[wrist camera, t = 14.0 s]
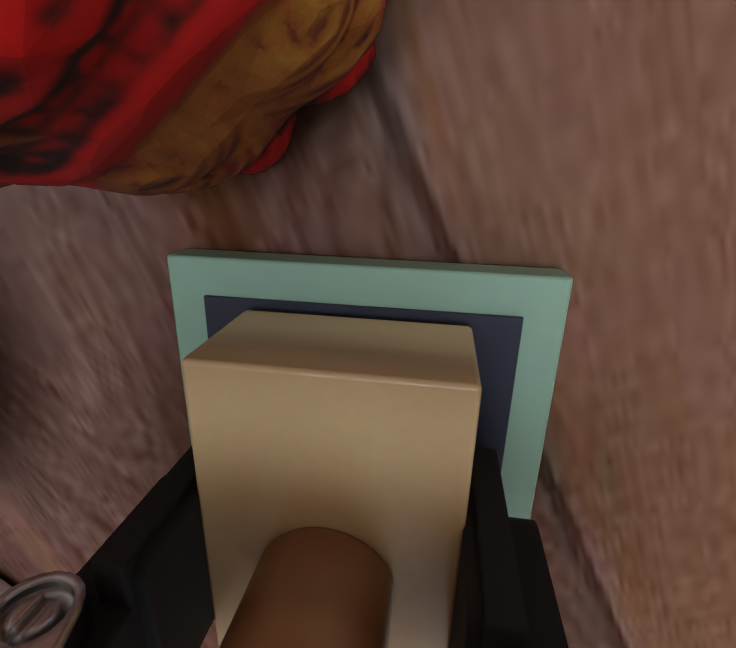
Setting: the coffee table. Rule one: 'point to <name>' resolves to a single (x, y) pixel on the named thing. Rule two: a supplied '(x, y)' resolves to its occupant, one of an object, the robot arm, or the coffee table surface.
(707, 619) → the coffee table surface
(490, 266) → the ink pad
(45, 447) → the coffee table surface
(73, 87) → the red clay folk toy
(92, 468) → the coffee table surface
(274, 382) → the stamp
